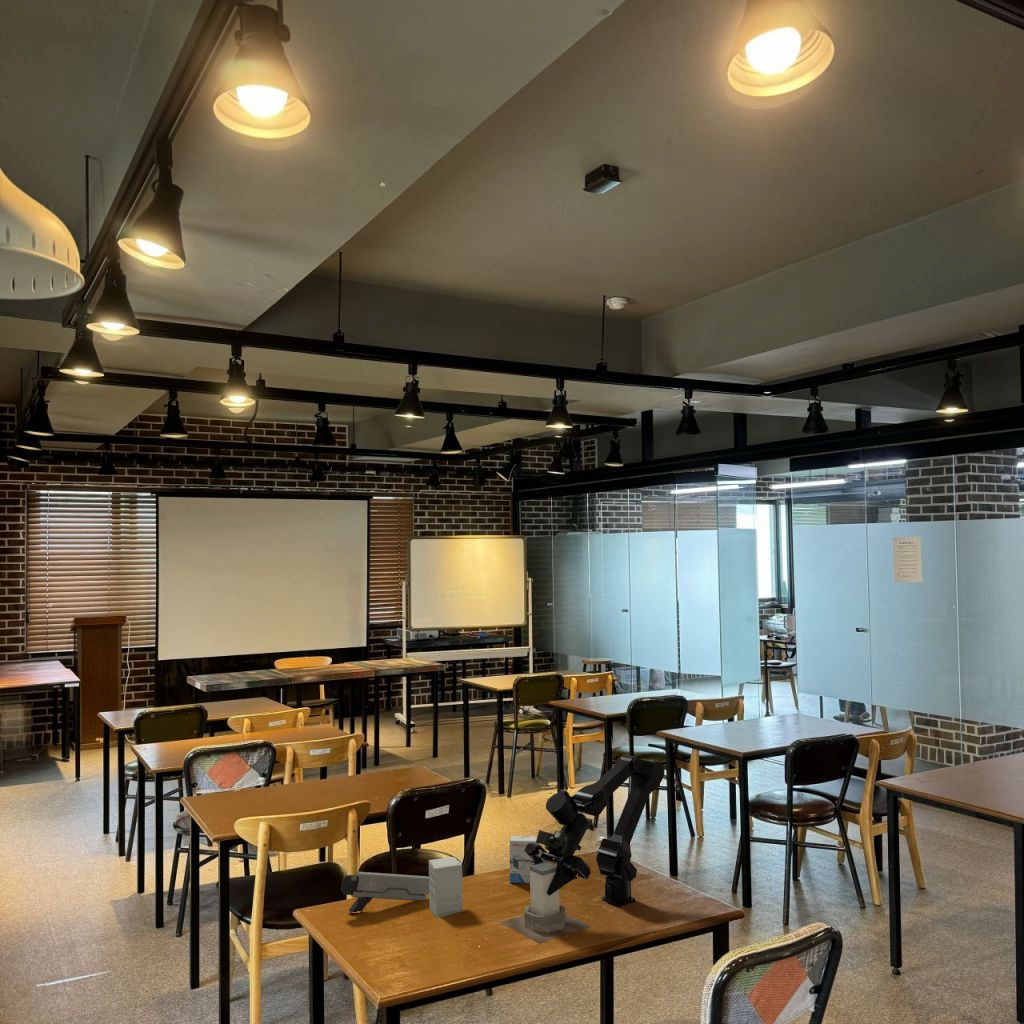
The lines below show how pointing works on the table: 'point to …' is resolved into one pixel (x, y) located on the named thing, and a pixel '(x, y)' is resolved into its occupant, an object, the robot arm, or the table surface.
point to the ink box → (520, 859)
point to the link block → (543, 890)
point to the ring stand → (544, 925)
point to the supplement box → (445, 886)
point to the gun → (383, 887)
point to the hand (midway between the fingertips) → (540, 891)
